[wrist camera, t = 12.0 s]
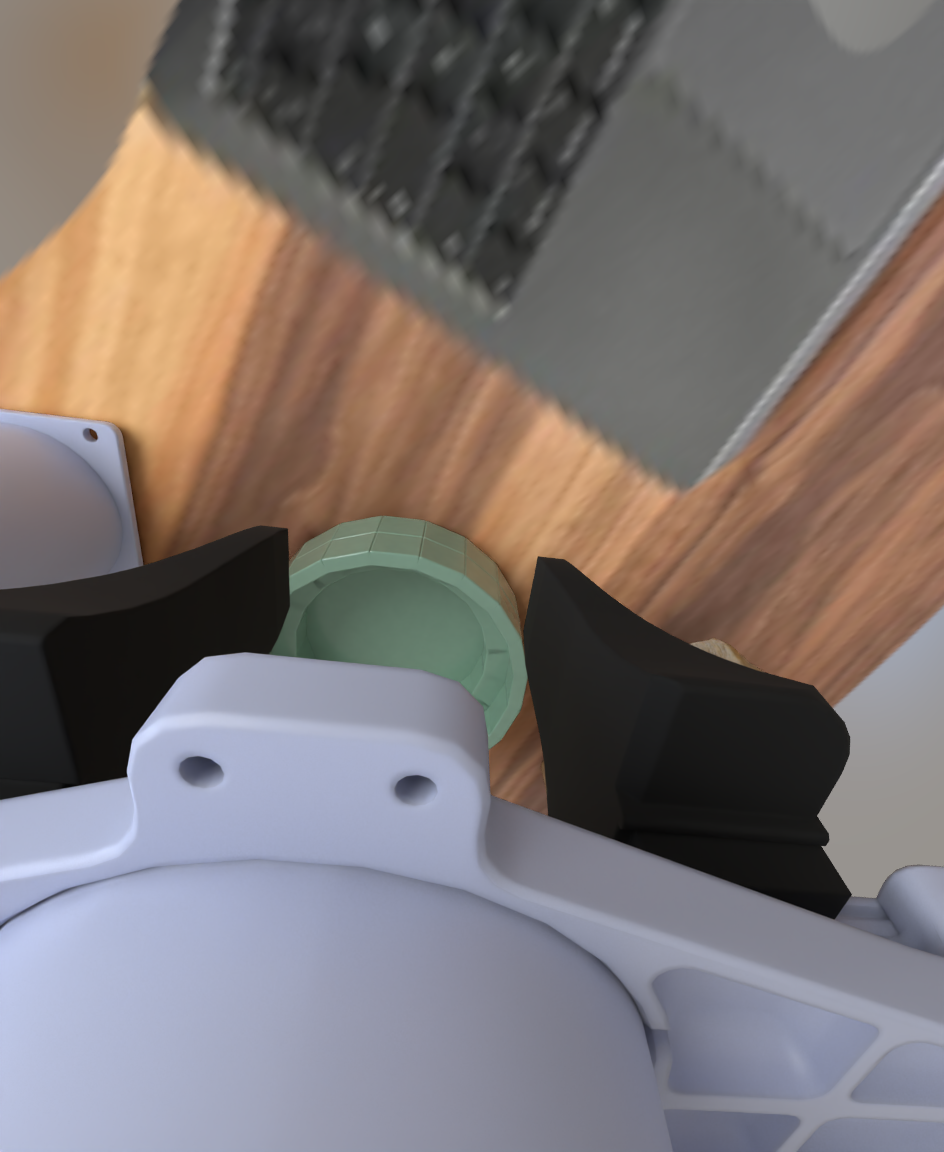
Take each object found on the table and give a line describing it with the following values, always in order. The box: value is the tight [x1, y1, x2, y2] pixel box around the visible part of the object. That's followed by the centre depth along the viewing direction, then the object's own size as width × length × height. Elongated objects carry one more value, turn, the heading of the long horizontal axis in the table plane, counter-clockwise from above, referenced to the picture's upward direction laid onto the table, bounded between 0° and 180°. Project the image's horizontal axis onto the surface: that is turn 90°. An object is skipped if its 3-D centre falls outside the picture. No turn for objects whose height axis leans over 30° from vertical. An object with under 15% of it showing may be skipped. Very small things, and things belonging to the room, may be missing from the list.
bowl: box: [269, 516, 528, 749], centre depth 24 cm, size 11×11×4 cm
